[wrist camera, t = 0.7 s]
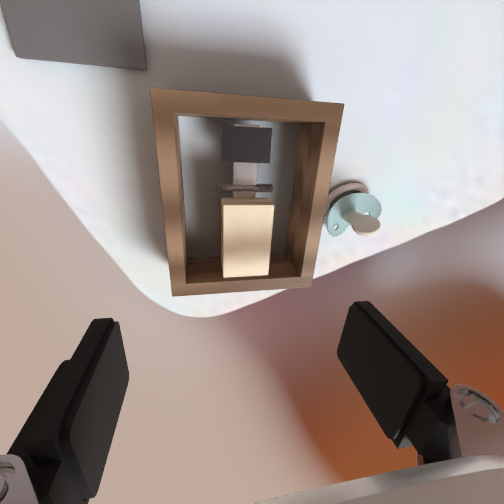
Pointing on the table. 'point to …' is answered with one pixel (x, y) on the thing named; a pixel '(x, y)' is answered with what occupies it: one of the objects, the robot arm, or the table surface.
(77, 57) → the rubber mat
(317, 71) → the table surface
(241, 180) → the lever
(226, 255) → the tan rectangular block
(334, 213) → the pacifier
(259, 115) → the block
